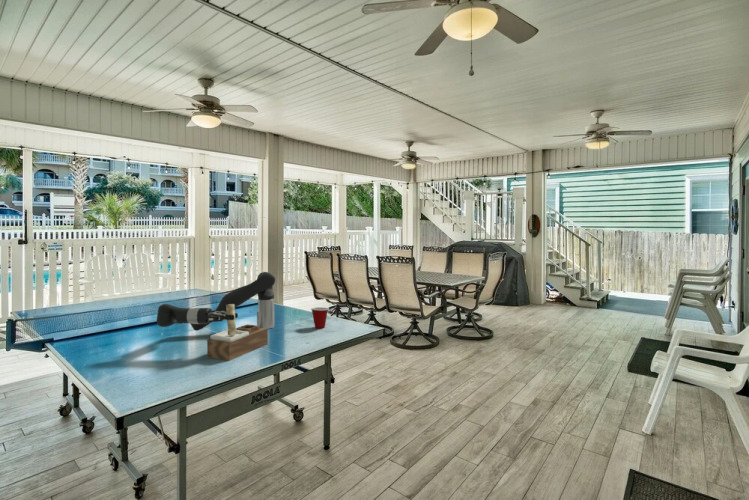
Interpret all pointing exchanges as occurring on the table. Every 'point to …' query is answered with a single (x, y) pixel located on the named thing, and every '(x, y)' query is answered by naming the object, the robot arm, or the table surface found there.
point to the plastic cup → (319, 316)
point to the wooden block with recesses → (238, 343)
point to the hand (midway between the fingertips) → (235, 316)
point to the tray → (229, 336)
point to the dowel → (231, 323)
